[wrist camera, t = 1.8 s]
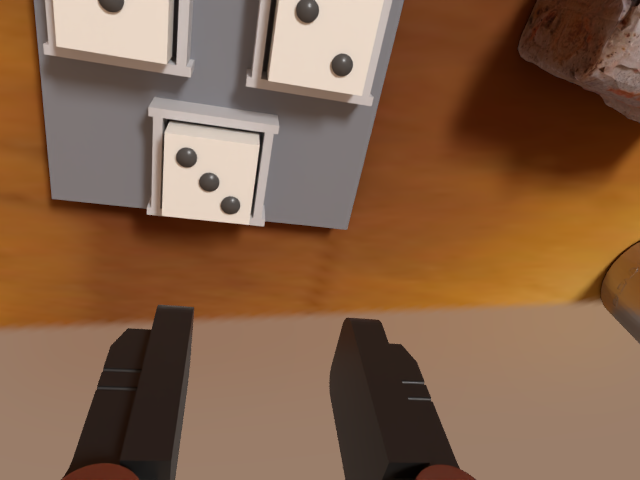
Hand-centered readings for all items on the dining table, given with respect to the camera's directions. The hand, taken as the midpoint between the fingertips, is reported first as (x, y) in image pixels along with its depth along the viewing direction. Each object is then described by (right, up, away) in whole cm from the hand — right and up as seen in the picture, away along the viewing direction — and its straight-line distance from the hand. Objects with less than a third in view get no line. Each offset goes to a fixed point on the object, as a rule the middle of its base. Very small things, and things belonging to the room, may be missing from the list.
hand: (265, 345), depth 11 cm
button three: (-5, +7, +19) cm, 20 cm away
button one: (-9, +14, +13) cm, 21 cm away
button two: (+1, +13, +15) cm, 20 cm away
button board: (-5, +12, +19) cm, 23 cm away
